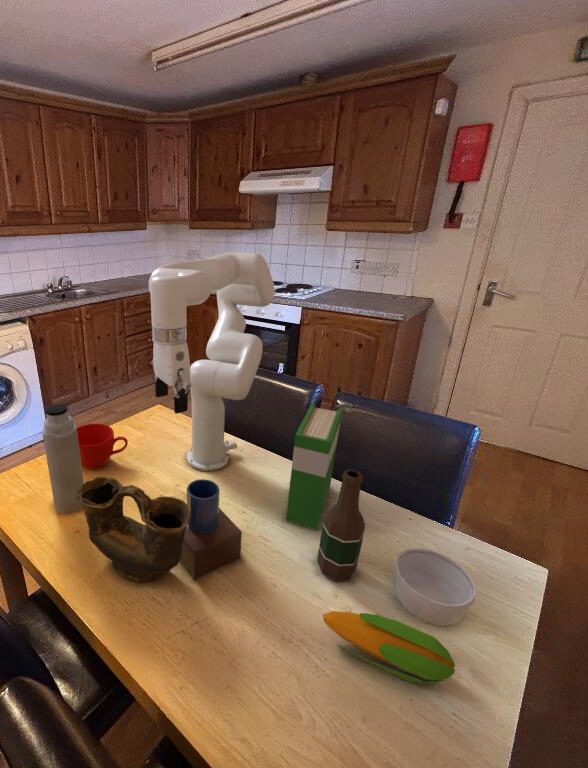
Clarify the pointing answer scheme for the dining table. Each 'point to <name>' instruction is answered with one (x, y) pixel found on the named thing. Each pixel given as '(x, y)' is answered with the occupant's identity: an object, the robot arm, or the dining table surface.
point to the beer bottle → (342, 531)
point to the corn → (394, 645)
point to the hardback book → (312, 466)
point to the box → (211, 557)
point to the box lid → (212, 535)
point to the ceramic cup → (97, 444)
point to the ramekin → (432, 586)
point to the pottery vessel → (134, 528)
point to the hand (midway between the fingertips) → (171, 403)
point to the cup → (203, 506)
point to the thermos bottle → (63, 458)
